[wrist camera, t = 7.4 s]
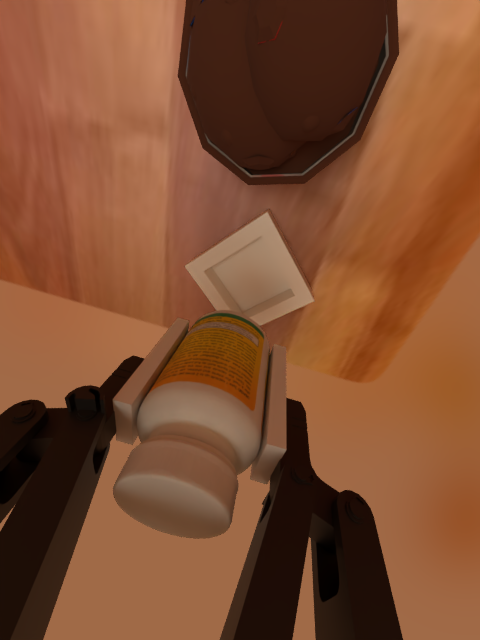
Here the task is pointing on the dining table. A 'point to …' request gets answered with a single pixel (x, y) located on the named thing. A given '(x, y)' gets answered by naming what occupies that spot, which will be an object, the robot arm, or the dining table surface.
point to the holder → (252, 272)
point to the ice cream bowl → (284, 80)
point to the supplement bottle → (198, 429)
